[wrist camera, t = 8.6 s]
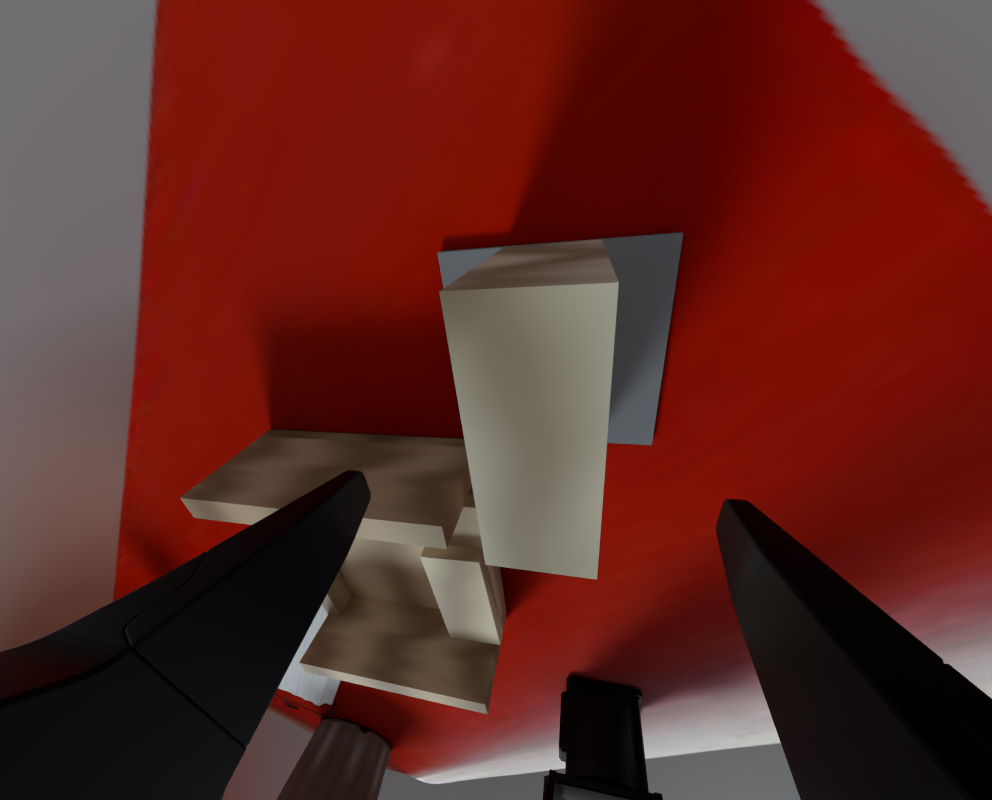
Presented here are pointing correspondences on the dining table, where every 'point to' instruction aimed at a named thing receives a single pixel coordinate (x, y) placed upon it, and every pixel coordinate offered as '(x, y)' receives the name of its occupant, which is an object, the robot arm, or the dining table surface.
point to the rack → (370, 555)
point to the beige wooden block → (536, 399)
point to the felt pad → (622, 323)
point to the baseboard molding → (308, 683)
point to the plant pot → (339, 764)
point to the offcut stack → (467, 582)
